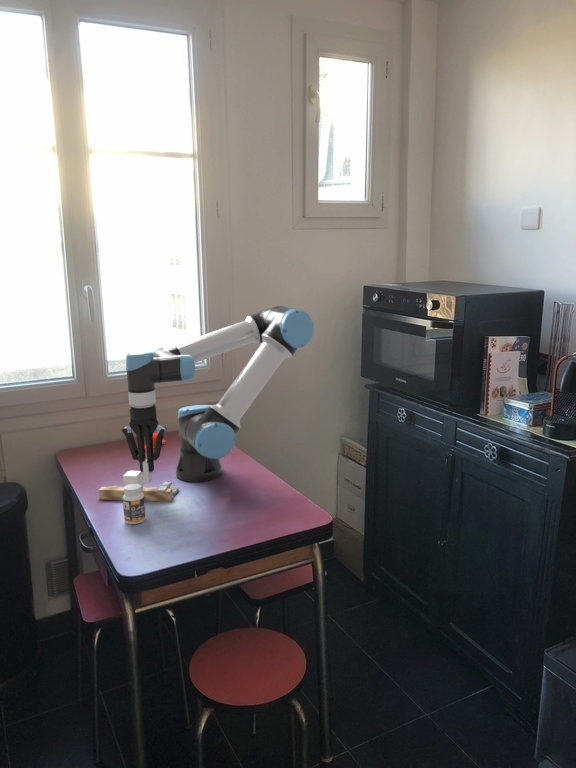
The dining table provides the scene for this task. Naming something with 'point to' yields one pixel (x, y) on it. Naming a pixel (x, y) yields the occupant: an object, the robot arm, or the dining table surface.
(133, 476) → the block
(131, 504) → the pill bottle
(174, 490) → the hole plate
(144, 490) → the beam
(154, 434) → the bracket
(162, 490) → the fixed leg
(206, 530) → the dining table surface
